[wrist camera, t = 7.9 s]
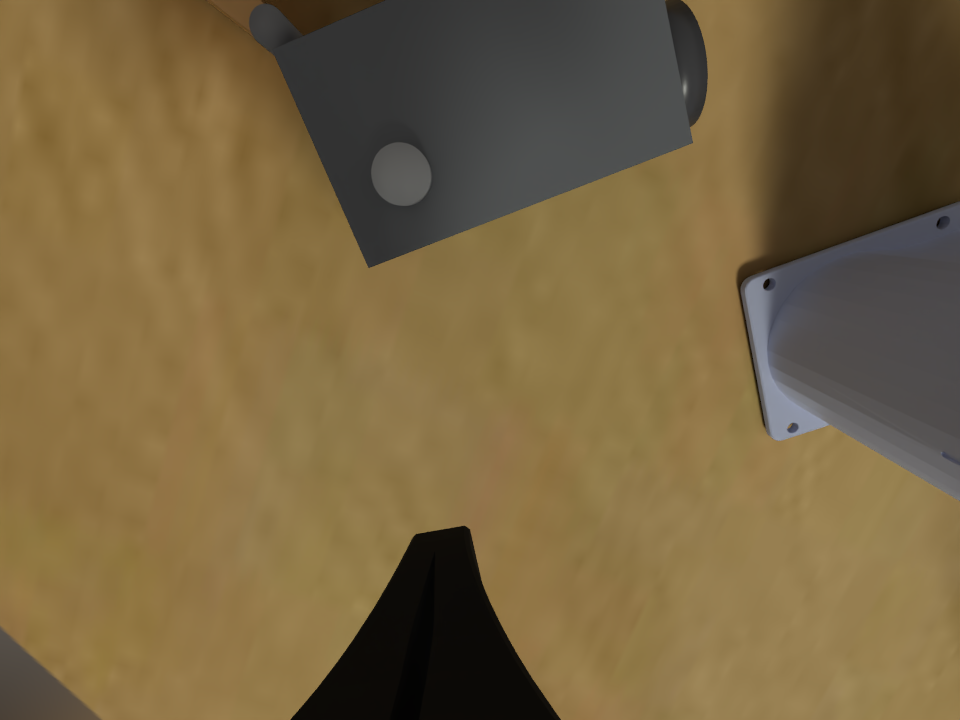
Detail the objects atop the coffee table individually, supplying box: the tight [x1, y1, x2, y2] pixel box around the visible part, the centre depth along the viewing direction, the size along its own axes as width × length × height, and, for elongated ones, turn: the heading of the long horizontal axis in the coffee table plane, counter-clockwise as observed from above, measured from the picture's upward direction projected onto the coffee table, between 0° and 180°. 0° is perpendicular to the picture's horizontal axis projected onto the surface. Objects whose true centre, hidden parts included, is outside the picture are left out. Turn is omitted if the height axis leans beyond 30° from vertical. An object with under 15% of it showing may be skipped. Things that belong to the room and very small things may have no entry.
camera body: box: [272, 0, 708, 268], centre depth 14 cm, size 11×6×6 cm, turn 110°
